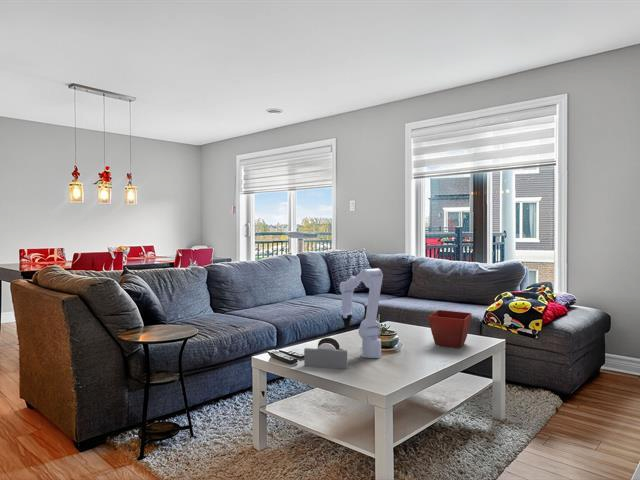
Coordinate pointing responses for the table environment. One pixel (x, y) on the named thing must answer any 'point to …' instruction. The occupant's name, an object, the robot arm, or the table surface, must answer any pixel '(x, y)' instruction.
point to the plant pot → (449, 328)
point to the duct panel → (325, 357)
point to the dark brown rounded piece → (330, 342)
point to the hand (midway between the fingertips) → (347, 328)
